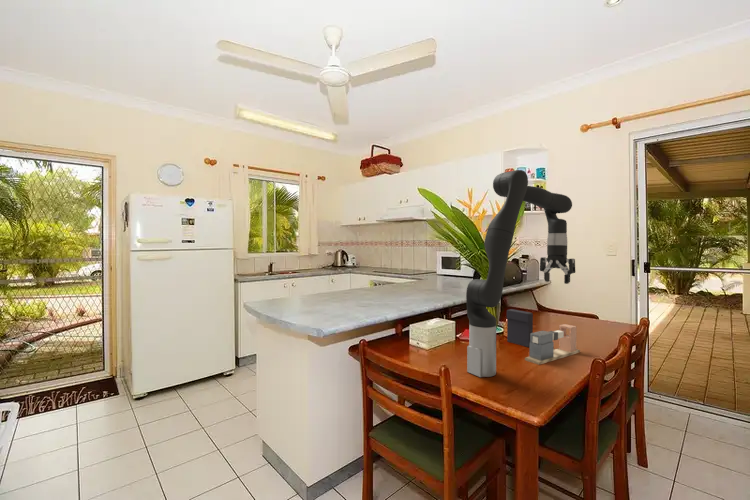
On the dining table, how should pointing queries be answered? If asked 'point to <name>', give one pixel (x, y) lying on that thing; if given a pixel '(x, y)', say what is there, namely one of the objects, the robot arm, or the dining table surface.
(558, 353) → the base board
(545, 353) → the sleeve
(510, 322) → the dark gray lidded box
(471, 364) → the robot arm
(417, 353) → the dining table surface
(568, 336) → the socket
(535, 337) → the slip tube
